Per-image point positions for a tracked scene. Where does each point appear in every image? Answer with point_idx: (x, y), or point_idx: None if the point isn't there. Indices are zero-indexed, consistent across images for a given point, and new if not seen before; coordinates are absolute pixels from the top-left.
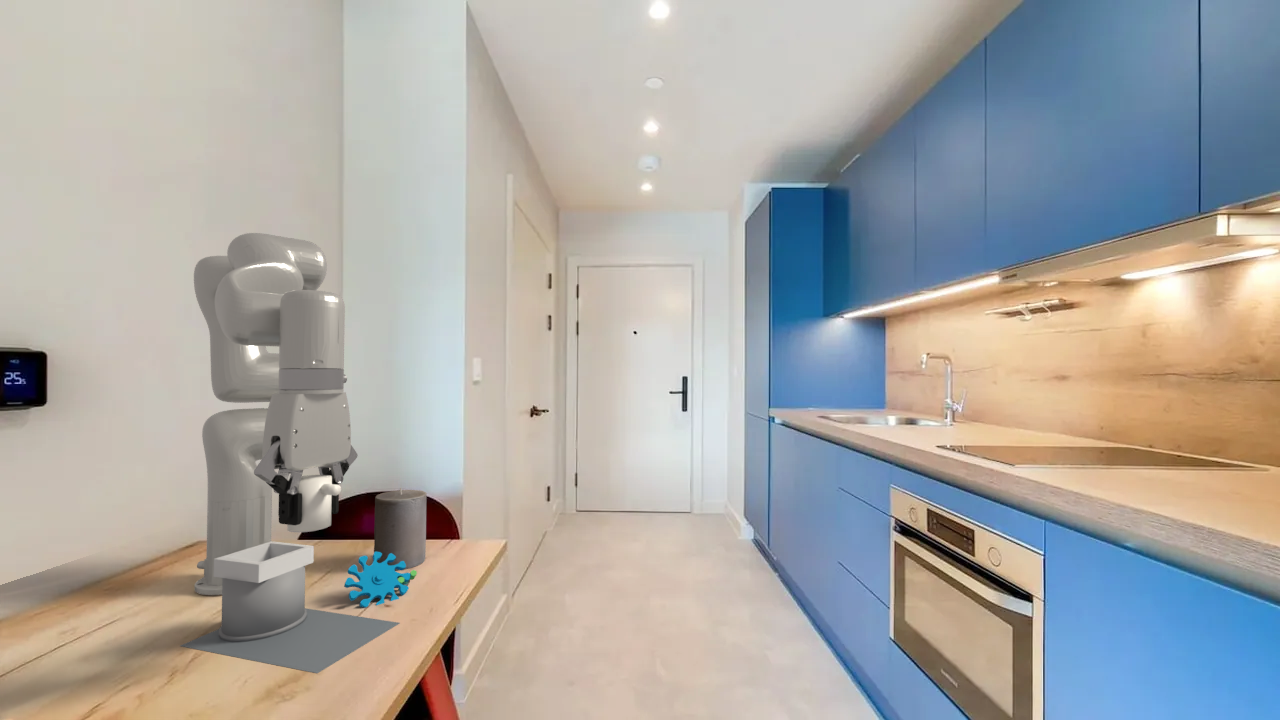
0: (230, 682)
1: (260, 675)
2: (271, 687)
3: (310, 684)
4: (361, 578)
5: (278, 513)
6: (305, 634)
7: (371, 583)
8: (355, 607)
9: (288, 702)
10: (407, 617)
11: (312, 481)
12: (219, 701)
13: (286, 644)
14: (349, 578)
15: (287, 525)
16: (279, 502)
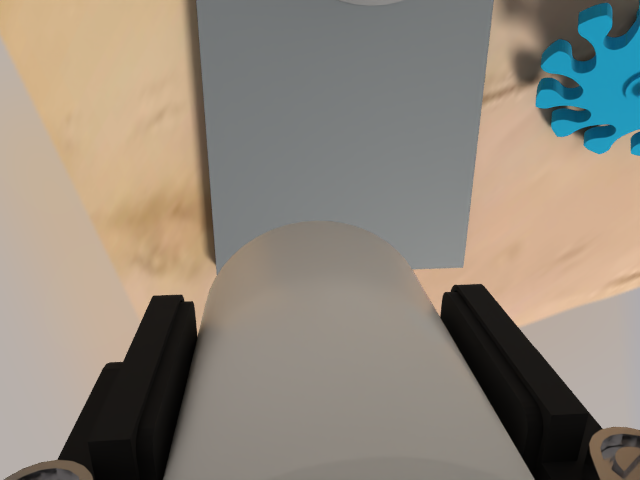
0: (141, 83)
1: (190, 124)
2: (166, 197)
3: (206, 264)
4: (626, 48)
5: (100, 374)
6: (352, 80)
7: (621, 79)
8: (566, 29)
9: (144, 278)
10: (522, 227)
11: None
12: (83, 140)
13: (293, 81)
14: (606, 21)
15: (219, 280)
16: (71, 442)
